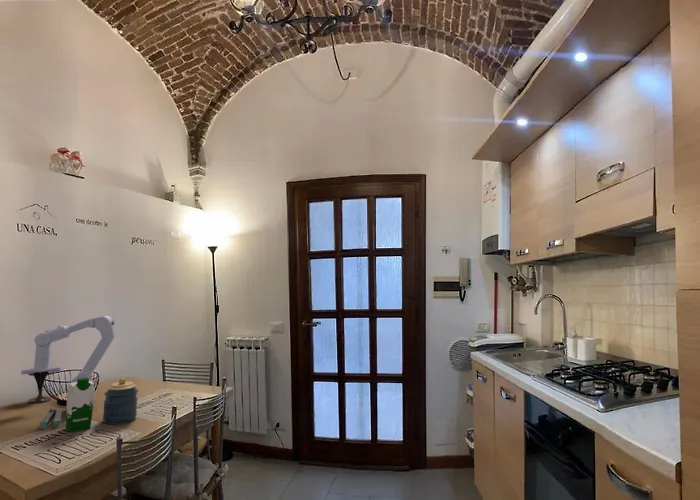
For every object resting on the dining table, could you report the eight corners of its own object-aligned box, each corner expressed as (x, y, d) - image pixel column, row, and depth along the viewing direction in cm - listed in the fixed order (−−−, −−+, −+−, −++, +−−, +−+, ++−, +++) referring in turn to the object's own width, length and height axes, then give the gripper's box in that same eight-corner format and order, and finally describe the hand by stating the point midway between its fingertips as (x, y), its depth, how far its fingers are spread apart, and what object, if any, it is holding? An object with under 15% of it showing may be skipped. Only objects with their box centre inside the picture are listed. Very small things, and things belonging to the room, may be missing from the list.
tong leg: (54, 417, 178) (54, 411, 179) (46, 428, 164) (47, 422, 164) (47, 418, 177) (48, 411, 178) (39, 429, 163) (40, 422, 163)
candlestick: (55, 400, 204) (61, 330, 207) (28, 405, 196) (35, 331, 199) (49, 396, 211) (55, 328, 214) (23, 400, 203) (29, 329, 206)
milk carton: (67, 433, 159) (71, 381, 161) (62, 428, 166) (66, 377, 168) (93, 428, 165) (97, 378, 167) (87, 423, 172) (91, 374, 174)
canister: (98, 419, 177) (101, 378, 178) (130, 413, 186) (132, 373, 188) (107, 427, 168) (111, 383, 169) (141, 420, 177) (143, 378, 179)
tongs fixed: (62, 414, 183) (62, 406, 183) (59, 427, 166) (60, 418, 167) (48, 415, 180) (49, 408, 181) (44, 429, 164) (45, 420, 164)
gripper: (21, 361, 182) (18, 392, 181) (61, 358, 190) (58, 388, 189) (23, 359, 188) (20, 389, 187) (61, 356, 196) (59, 385, 194)
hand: (39, 388), depth 188 cm, fingers closed
